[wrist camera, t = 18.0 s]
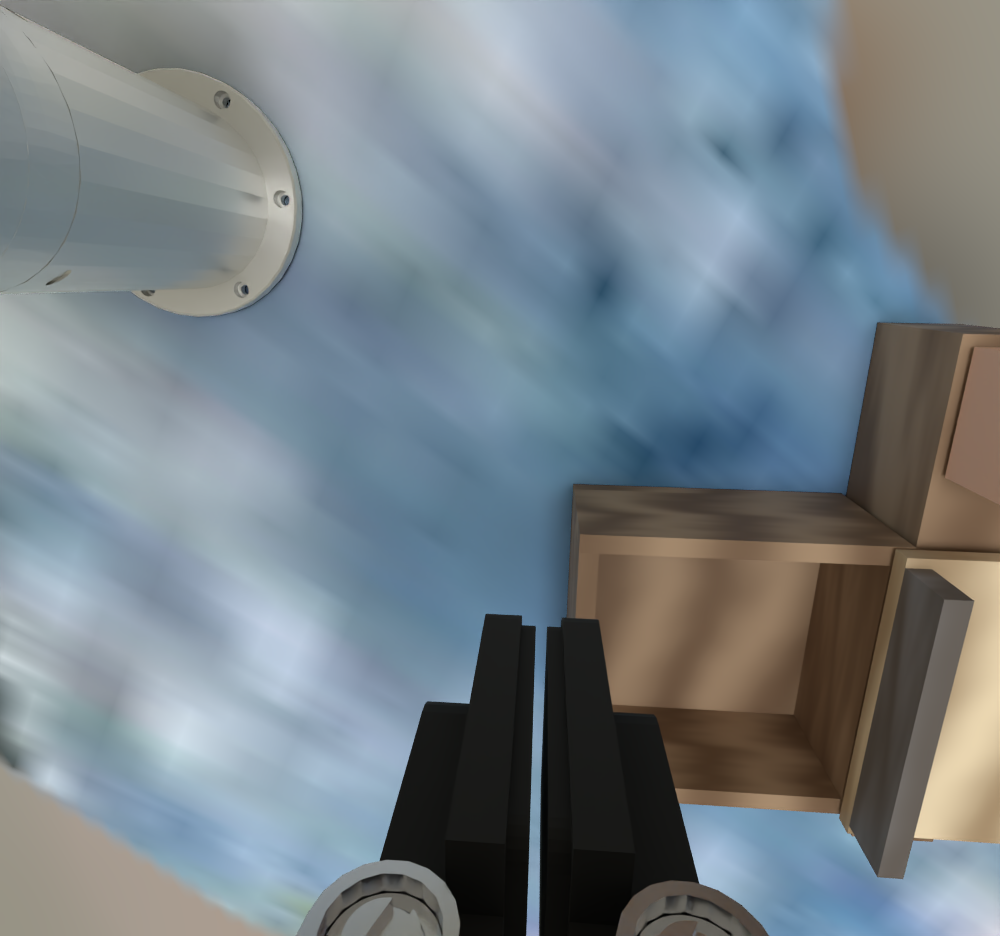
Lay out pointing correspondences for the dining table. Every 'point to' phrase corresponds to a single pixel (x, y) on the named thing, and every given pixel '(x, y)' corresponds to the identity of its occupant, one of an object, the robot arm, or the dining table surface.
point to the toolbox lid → (930, 711)
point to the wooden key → (979, 428)
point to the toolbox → (778, 587)
